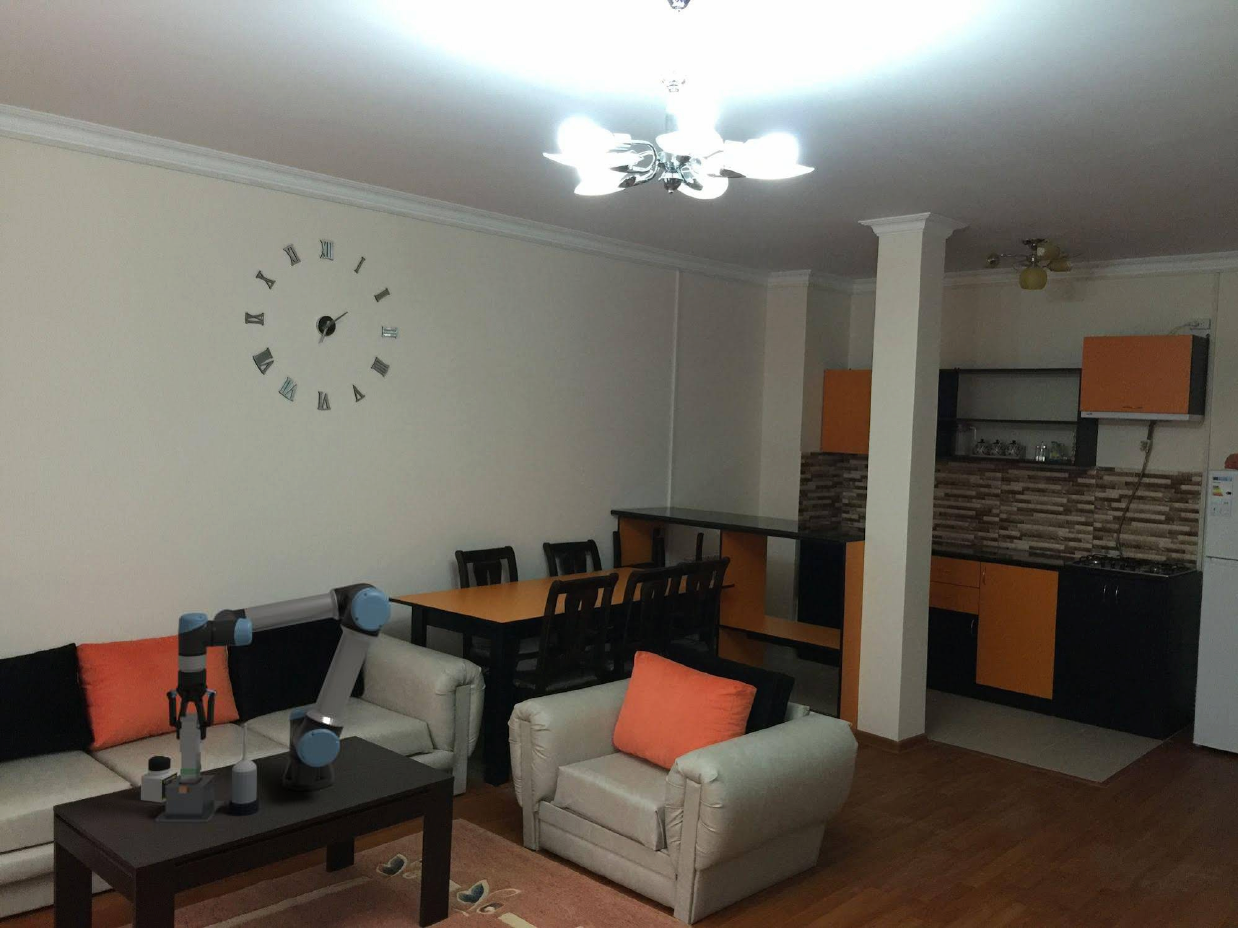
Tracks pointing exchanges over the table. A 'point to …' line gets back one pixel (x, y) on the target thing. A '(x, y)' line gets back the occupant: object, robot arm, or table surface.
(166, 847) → the table surface
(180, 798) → the stand housing
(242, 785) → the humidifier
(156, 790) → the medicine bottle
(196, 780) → the column
